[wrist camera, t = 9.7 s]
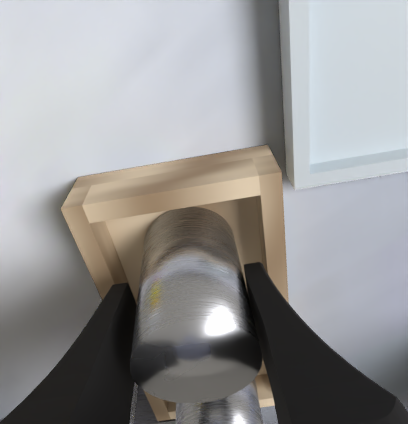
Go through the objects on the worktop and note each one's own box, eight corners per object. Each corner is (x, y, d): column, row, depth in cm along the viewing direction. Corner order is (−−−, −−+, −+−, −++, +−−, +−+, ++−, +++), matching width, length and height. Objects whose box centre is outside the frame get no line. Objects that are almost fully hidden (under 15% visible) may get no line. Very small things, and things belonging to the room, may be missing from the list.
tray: (525, -89, 11) (567, -98, 10) (467, 143, 15) (491, 157, 14) (276, -39, 11) (287, -42, 10) (286, 174, 15) (294, 190, 14)
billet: (233, 202, 15) (264, 314, 10) (235, 273, 17) (261, 396, 12) (137, 211, 15) (118, 330, 10) (151, 282, 17) (141, 409, 12)
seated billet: (244, 318, 19) (266, 442, 14) (252, 364, 21) (273, 485, 16) (170, 329, 19) (164, 456, 14) (184, 373, 21) (184, 496, 16)
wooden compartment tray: (267, 144, 15) (281, 171, 12) (283, 364, 23) (293, 403, 21) (78, 177, 15) (60, 208, 13) (160, 381, 23) (157, 421, 21)
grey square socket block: (229, 373, 23) (233, 412, 21) (238, 417, 26) (243, 456, 24) (138, 386, 23) (133, 426, 21) (157, 428, 26) (155, 467, 24)
